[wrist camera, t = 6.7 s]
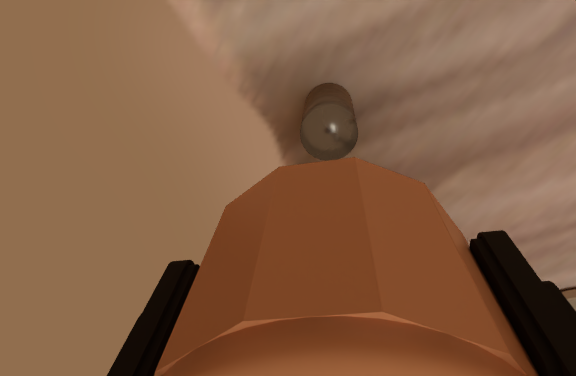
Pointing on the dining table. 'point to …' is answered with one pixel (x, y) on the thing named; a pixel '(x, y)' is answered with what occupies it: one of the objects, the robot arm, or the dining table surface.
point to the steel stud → (329, 123)
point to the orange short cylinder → (341, 285)
